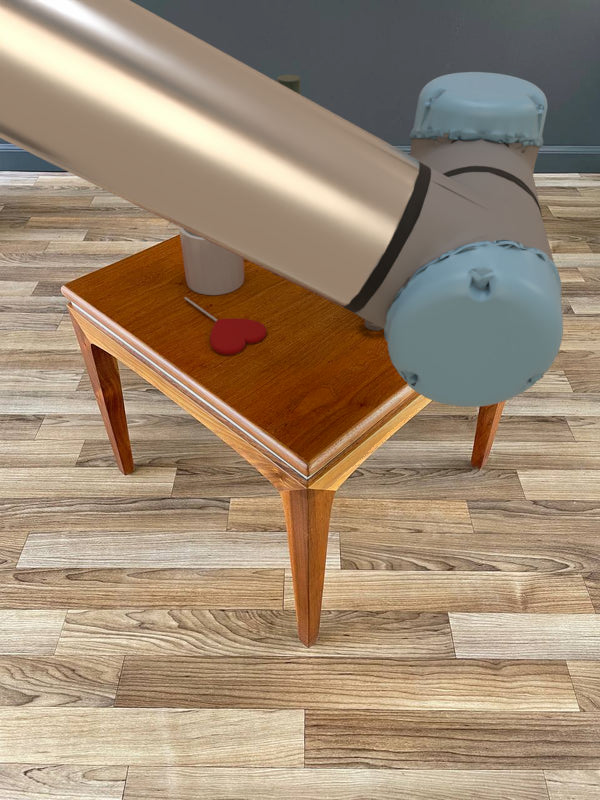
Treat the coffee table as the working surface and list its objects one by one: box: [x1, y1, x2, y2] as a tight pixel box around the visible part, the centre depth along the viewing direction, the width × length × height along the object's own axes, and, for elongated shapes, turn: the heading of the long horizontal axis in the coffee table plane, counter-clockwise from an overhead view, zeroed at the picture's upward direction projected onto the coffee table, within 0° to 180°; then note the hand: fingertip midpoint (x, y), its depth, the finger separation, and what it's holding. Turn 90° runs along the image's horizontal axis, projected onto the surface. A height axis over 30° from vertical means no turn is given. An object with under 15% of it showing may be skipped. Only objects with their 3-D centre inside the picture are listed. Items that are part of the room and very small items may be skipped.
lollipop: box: [183, 296, 268, 356], centre depth 88 cm, size 8×1×15 cm
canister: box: [178, 226, 246, 296], centre depth 94 cm, size 9×9×9 cm
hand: (268, 153), depth 69 cm, fingers closed on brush, 2 cm apart
